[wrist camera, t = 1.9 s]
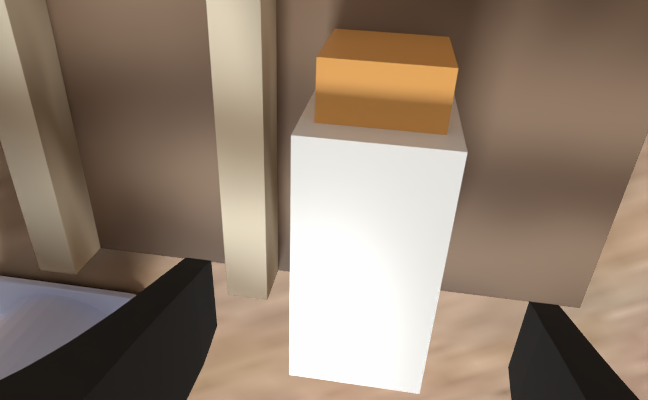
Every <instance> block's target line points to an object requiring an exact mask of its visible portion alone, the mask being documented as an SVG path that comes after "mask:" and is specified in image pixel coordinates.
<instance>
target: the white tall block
mask: <svg viewBox="0 0 648 400" xmlns="http://www.w3.org/2000/svg"><path fill="white" fill-rule="evenodd" d="M457 74H458V65H457V61H456V58H455V55H454V51H453V48H452V44H451V41H450V38H449V37H444V36H430V35H416V34H402V33H389V32H375V31H361V30H347V29H334V30H333V32H332V33H331V35H330V37H329V38H328V40H327V41H326V43H325V44H324V46H323V48H322V49H321V51H320V52H319V54H318V55H317V57H316V89H315V91H314V93H313V95H312V96H311V98H310V100H309V102H308V104H307V106H306V108H305V110H304V112H303V113H302V115H301V117H300V119H299V121H298V123H297V125H296V127H295V128H294V130H293V132H292V134H291V195H290V335H289V375H295V376H302V377H309V378H316V379H322V380H329V381H336V382H343V383H349V384H356V385H363V386H370V387H376V388H383V389H390V390H397V391H403V392H410V393H417V394H419V393H420V388H421V383H422V378H423V373H424V368H425V363H426V358H427V353H428V348H429V343H430V338H431V333H432V328H433V323H434V318H435V313H436V308H437V303H438V298H439V293H440V288H441V283H442V278H443V273H444V268H445V263H446V258H447V253H448V248H449V243H450V238H451V233H452V228H453V223H454V218H455V213H456V208H457V203H458V198H459V193H460V188H461V183H462V178H463V173H464V168H465V163H466V158H467V153H468V152H467V147H466V143H465V139H464V134H463V130H462V126H461V121H460V117H459V113H458V108H457V104H456V100H455V95H454V91H455V85H456V80H457Z"/></svg>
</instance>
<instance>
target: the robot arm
mask: <svg viewBox="0 0 648 400" xmlns="http://www.w3.org/2000/svg"><path fill="white" fill-rule="evenodd" d="M216 327H217V319H216V309H215V298H214V287H213V276H212V265H211V261H210V260H202V259H194V258H185V259H184V260H182V261H181V262H179V263H178V264H177V265H175V266H174V267H173V268H172V269H170V270H169V271H168V272H166V273H165V274H164V275H162V276H161V277H160V278H159V279H157V280H156V281H155V282H153V283H152V284H151V285H149V286H148V287H147V288H145V289H144V290H143V291H142V292H140V293H139V294H138V295H136V294H132V293H125V292H118V291H110V290H103V289H95V288H88V287H80V286H73V285H66V284H58V283H51V282H43V281H36V280H29V279H21V278H14V277H6V276H0V400H187V398H188V396H189V394H190V392H191V390H192V388H193V385H194V383H195V381H196V379H197V377H198V375H199V373H200V371H201V369H202V367H203V365H204V362H205V359H206V356H207V354H208V351H209V348H210V345H211V342H212V339H213V336H214V333H215V330H216ZM508 369H509V379H510V390H511V399H512V400H639V399H638V398H637V396H636V395H635V394H634V393H633V392H632V391H631V390H630V389H629V388H628V387H627V385H626V384H625V383H624V382H623V381H622V380H621V379H620V378H619V376H618V375H617V374H616V373H615V372H614V371H613V370H612V368H611V367H610V366H609V365H608V364H607V363H606V361H605V360H604V359H603V358H602V357H601V356H600V354H599V353H598V352H597V351H596V350H595V348H594V347H593V346H592V345H591V344H590V342H589V341H588V340H587V339H586V338H585V336H584V335H583V334H582V333H581V332H580V330H579V329H578V328H577V327H576V325H575V324H574V323H573V322H572V321H571V319H570V318H569V317H568V316H567V314H566V313H565V312H564V311H563V310H562V309H561V307H560V306H559V305H554V304H547V303H539V302H531V301H529V304H528V307H527V310H526V313H525V316H524V320H523V323H522V326H521V329H520V332H519V335H518V338H517V342H516V345H515V348H514V351H513V354H512V357H511V360H510V363H509V367H508Z"/></svg>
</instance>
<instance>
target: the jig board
mask: <svg viewBox="0 0 648 400" xmlns="http://www.w3.org/2000/svg"><path fill="white" fill-rule="evenodd" d="M334 29H347V30H361V31H375V32H389V33H402V34H416V35H430V36H444V37H449V38H450V41H451V44H452V48H453V51H454V55H455V58H456V61H457V65H458V74H457V80H456V85H455V91H454V95H455V100H456V104H457V108H458V113H459V117H460V121H461V126H462V130H463V134H464V139H465V143H466V147H467V152H468V153H467V158H466V163H465V168H464V173H463V178H462V183H461V188H460V193H459V198H458V203H457V208H456V213H455V218H454V223H453V228H452V233H451V238H450V243H449V248H448V253H447V258H446V263H445V268H444V273H443V278H442V283H441V288H440V290H441V291H449V292H457V293H465V294H473V295H481V296H489V297H497V298H505V299H513V300H521V301H531V302H539V303H547V304H554V305H560V306H568V307H576V308H580V306H581V303H582V301H583V298H584V296H585V293H586V291H587V288H588V285H589V283H590V280H591V278H592V275H593V272H594V270H595V267H596V265H597V262H598V260H599V257H600V254H601V252H602V249H603V247H604V244H605V241H606V239H607V236H608V234H609V231H610V229H611V226H612V223H613V221H614V218H615V216H616V213H617V210H618V208H619V205H620V203H621V200H622V198H623V195H624V192H625V190H626V187H627V185H628V182H629V179H630V177H631V174H632V172H633V169H634V167H635V164H636V161H637V159H638V156H639V154H640V151H641V148H642V146H643V143H644V141H645V138H646V136H647V133H648V0H0V142H1V145H2V148H3V151H4V155H5V158H6V161H7V164H8V168H9V171H10V174H11V178H12V181H13V184H14V187H15V191H16V194H17V197H18V201H19V204H20V207H21V210H22V214H23V217H24V220H25V223H26V227H27V230H28V233H29V237H30V240H31V243H32V246H33V250H34V253H35V256H36V259H37V263H38V266H39V269H40V270H44V271H52V272H59V273H67V274H74V275H76V274H77V273H78V272H79V271H80V270H81V269H82V268H83V267H84V265H85V264H86V263H87V262H88V261H89V260H90V259H91V258H92V257H93V256H94V254H95V253H96V252H97V251H98V250H99V249H100V248H107V249H115V250H123V251H131V252H138V253H146V254H154V255H162V256H170V257H178V258H194V259H202V260H210V261H211V262H218V263H225V266H226V280H227V294H228V295H233V296H241V297H248V298H256V299H263V300H267V299H268V296H269V294H270V291H271V288H272V285H273V283H274V280H275V277H276V275H277V272H278V270H282V271H290V195H291V134H292V132H293V130H294V128H295V127H296V125H297V123H298V121H299V119H300V117H301V115H302V113H303V112H304V110H305V108H306V106H307V104H308V102H309V100H310V98H311V96H312V95H313V93H314V91H315V89H316V57H317V55H318V54H319V52H320V51H321V49H322V48H323V46H324V44H325V43H326V41H327V40H328V38H329V37H330V35H331V33H332V32H333V30H334Z"/></svg>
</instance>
